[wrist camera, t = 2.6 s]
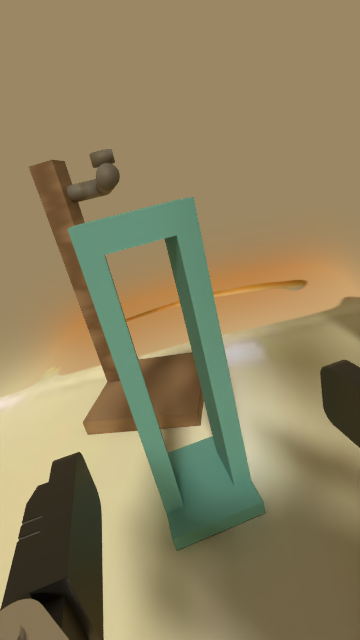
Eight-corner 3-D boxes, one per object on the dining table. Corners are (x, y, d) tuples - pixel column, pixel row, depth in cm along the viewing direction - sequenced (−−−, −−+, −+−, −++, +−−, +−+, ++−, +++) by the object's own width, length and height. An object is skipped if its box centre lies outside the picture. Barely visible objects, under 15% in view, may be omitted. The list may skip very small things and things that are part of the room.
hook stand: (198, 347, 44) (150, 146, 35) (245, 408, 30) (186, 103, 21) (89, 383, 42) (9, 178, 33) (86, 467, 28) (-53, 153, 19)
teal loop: (225, 441, 27) (169, 200, 20) (265, 512, 21) (204, 195, 14) (156, 467, 26) (74, 224, 19) (176, 550, 20) (63, 231, 13)
